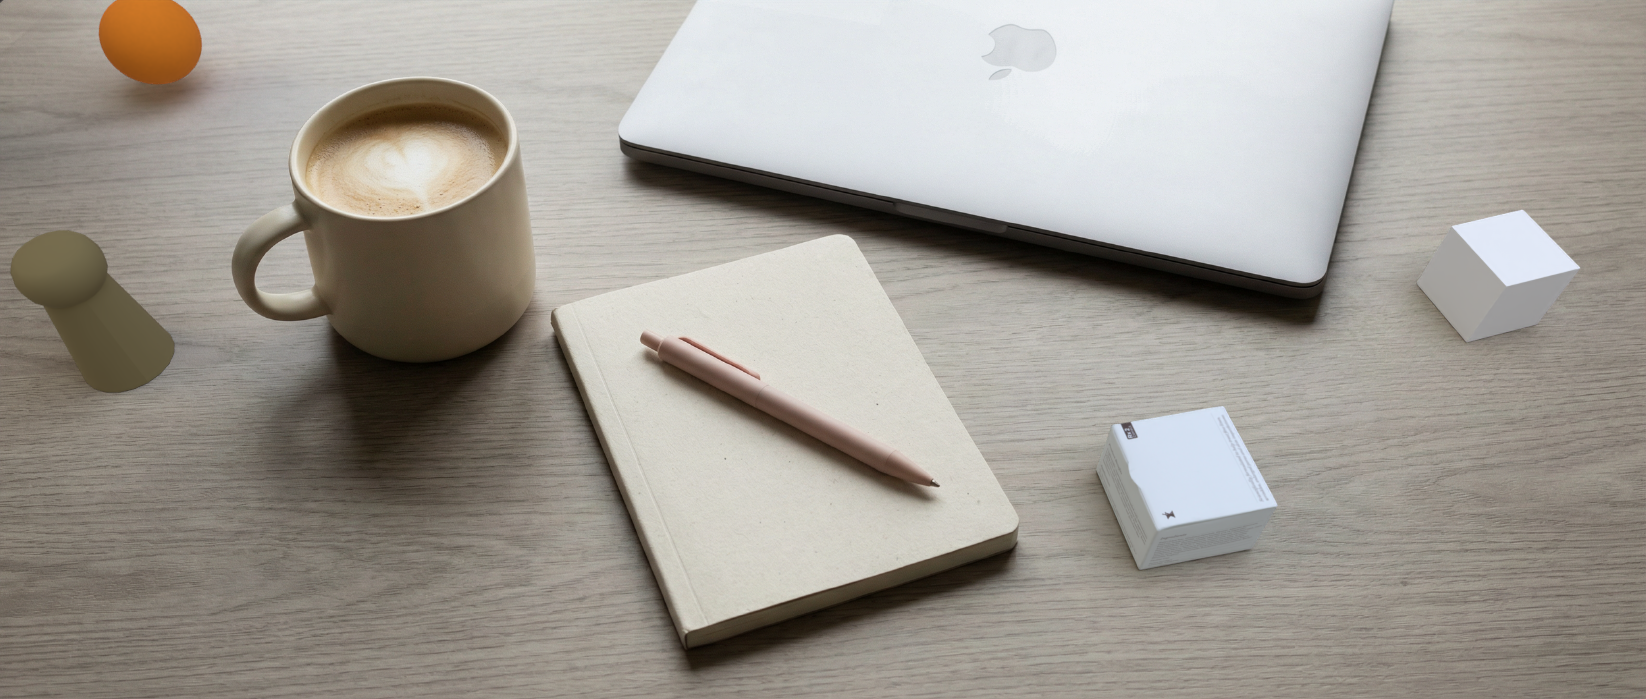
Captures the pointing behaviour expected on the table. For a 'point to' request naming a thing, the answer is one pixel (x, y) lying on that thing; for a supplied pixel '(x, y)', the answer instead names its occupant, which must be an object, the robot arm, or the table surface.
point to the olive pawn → (92, 311)
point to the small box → (1184, 487)
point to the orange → (150, 40)
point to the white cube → (1496, 275)
